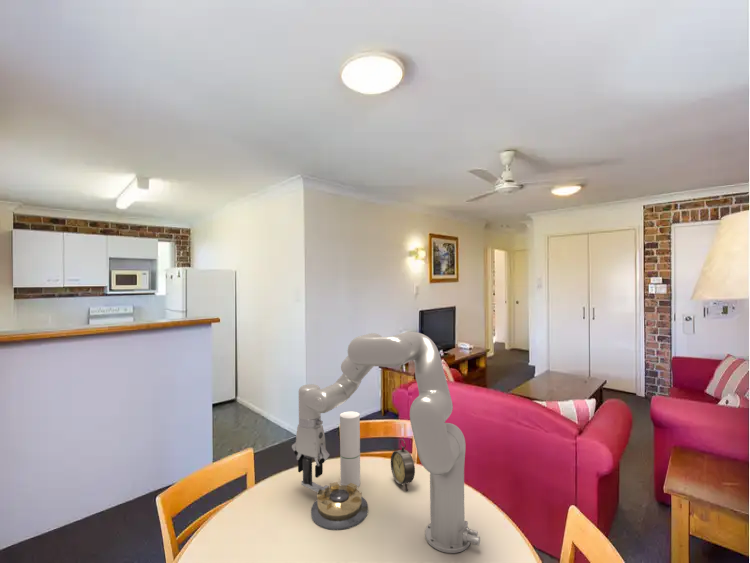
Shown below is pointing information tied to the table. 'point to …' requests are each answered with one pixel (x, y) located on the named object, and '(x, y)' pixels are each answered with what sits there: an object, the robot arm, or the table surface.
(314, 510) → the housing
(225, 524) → the table surface
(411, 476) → the alarm clock
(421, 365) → the robot arm
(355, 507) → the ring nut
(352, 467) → the cylindrical container
